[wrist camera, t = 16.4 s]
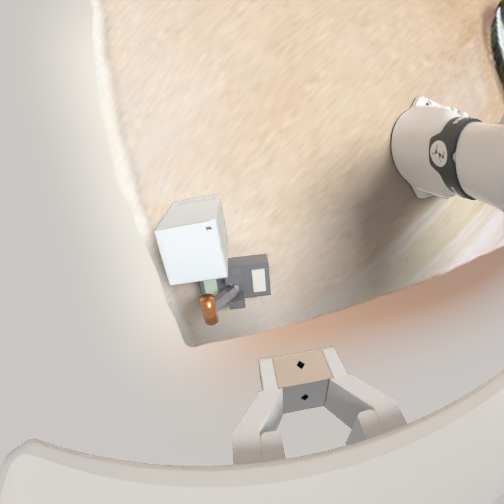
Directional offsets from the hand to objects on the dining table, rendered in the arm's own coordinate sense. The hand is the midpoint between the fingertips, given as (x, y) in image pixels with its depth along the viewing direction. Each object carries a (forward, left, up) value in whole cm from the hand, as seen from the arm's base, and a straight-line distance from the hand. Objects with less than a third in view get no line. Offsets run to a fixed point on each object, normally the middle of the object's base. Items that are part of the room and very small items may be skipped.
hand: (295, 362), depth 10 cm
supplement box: (+7, +4, -33) cm, 34 cm away
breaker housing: (+3, +14, -33) cm, 36 cm away
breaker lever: (+3, +14, -28) cm, 32 cm away
